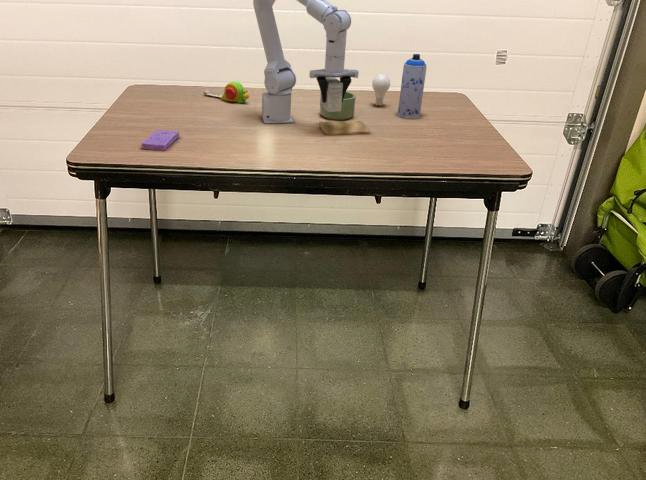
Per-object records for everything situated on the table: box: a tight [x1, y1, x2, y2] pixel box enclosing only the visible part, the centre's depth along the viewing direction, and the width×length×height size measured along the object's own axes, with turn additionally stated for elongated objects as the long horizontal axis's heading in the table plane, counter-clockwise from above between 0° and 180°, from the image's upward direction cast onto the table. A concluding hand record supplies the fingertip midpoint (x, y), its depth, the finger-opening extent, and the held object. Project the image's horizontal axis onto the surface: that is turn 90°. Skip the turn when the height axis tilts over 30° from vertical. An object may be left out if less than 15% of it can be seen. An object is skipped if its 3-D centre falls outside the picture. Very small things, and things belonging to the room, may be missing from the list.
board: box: [318, 120, 371, 136], centre depth 193 cm, size 14×11×1 cm
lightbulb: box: [371, 73, 391, 107], centre depth 215 cm, size 6×6×11 cm
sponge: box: [141, 129, 180, 151], centre depth 177 cm, size 7×13×2 cm, turn 170°
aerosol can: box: [396, 53, 427, 120], centre depth 203 cm, size 8×8×20 cm
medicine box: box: [319, 77, 343, 112], centre depth 186 cm, size 8×4×9 cm, turn 14°
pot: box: [319, 91, 357, 121], centre depth 204 cm, size 11×11×7 cm
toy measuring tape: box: [203, 80, 250, 104], centre depth 218 cm, size 6×19×7 cm, turn 57°
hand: (332, 101), depth 186 cm, fingers closed on medicine box, 5 cm apart
